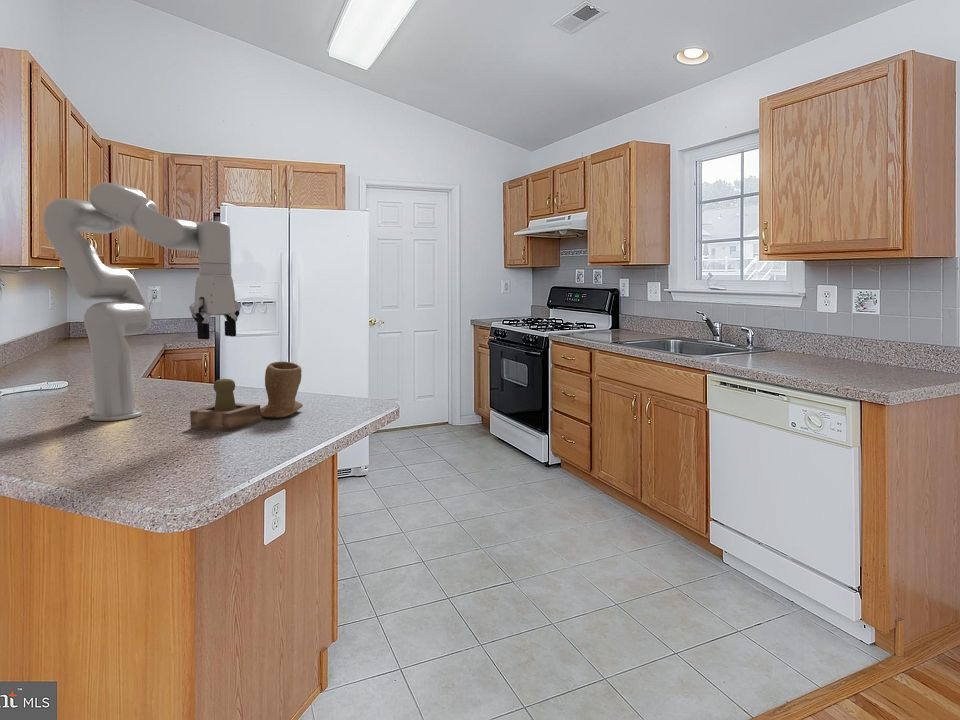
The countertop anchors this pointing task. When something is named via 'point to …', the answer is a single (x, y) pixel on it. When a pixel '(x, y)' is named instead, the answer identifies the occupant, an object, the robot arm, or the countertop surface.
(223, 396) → the olive knobbed peg
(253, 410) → the socket block
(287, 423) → the countertop surface
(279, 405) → the stone cup
